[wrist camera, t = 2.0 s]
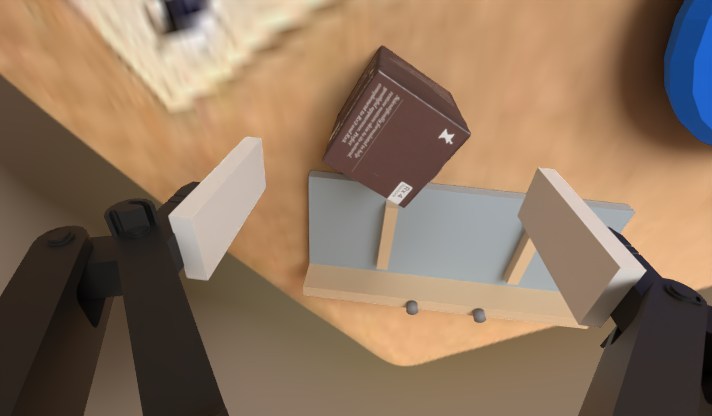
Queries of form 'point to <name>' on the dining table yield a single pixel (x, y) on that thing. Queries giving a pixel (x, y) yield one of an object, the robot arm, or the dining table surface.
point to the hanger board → (434, 251)
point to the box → (395, 130)
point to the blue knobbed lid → (691, 68)
